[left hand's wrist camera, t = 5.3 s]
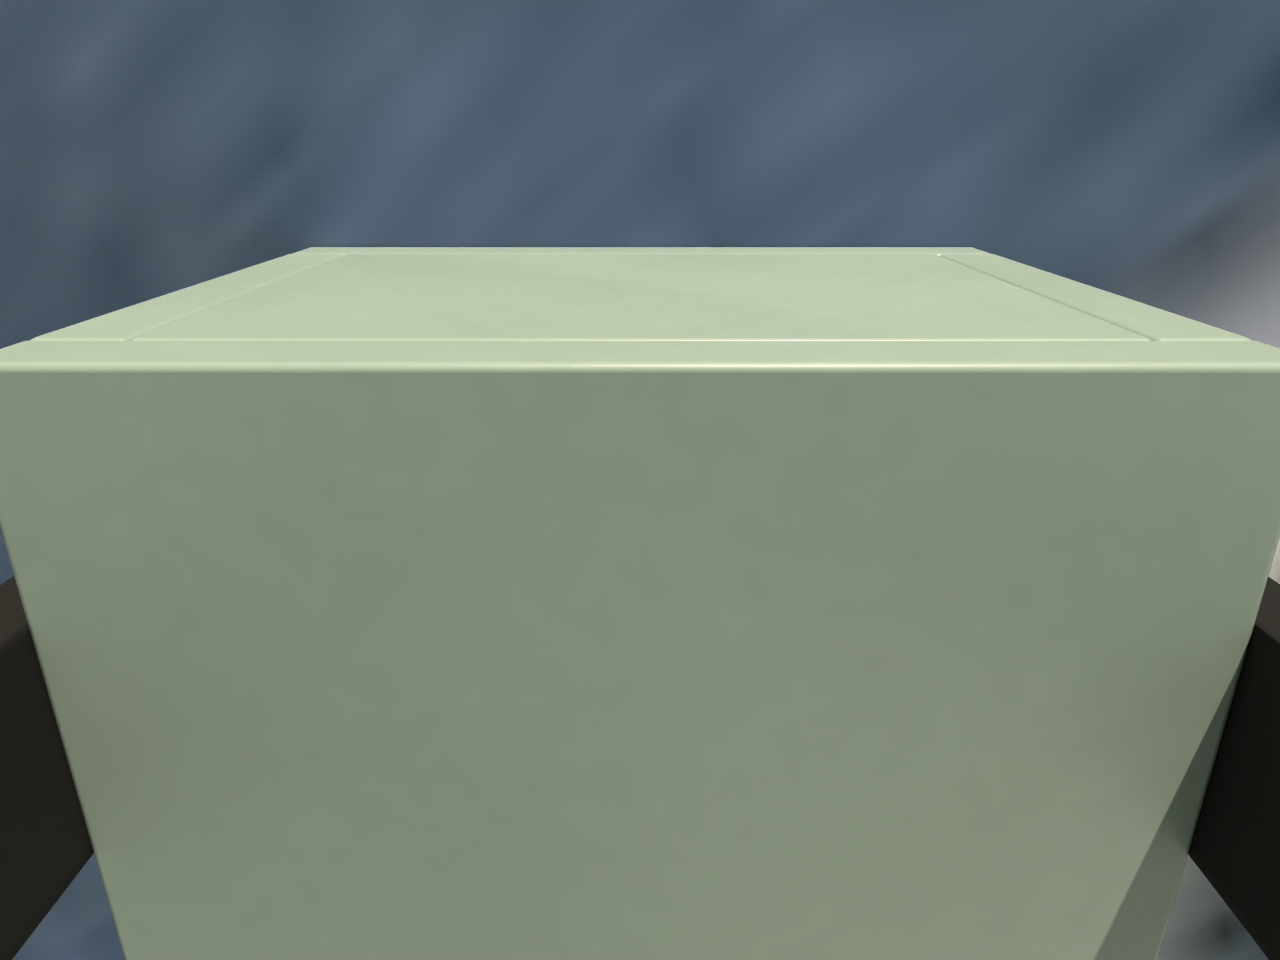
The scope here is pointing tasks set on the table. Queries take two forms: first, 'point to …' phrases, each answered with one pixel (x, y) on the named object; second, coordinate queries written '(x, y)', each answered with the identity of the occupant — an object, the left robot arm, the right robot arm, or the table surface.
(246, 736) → the cabinet
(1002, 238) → the table surface
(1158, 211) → the table surface
